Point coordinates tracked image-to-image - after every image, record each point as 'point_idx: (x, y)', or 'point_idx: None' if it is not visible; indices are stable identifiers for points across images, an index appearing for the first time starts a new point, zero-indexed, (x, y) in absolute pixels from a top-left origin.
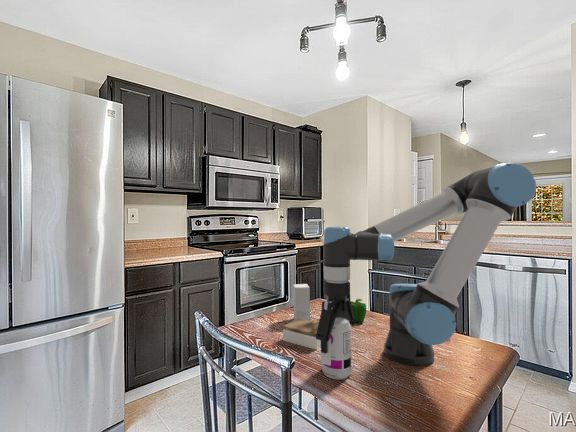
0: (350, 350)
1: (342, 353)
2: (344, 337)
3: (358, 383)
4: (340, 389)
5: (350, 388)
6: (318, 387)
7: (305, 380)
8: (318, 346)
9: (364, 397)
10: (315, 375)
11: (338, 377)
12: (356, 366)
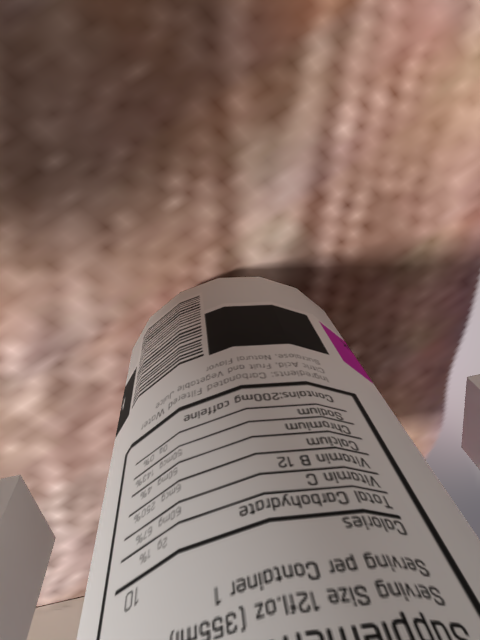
0: (221, 396)
1: (365, 403)
2: (451, 584)
3: (245, 173)
4: (405, 221)
5: (350, 176)
6: (461, 330)
7: (433, 421)
8: (64, 623)
9: (403, 8)
10: None
11: (320, 308)
12: (28, 337)
